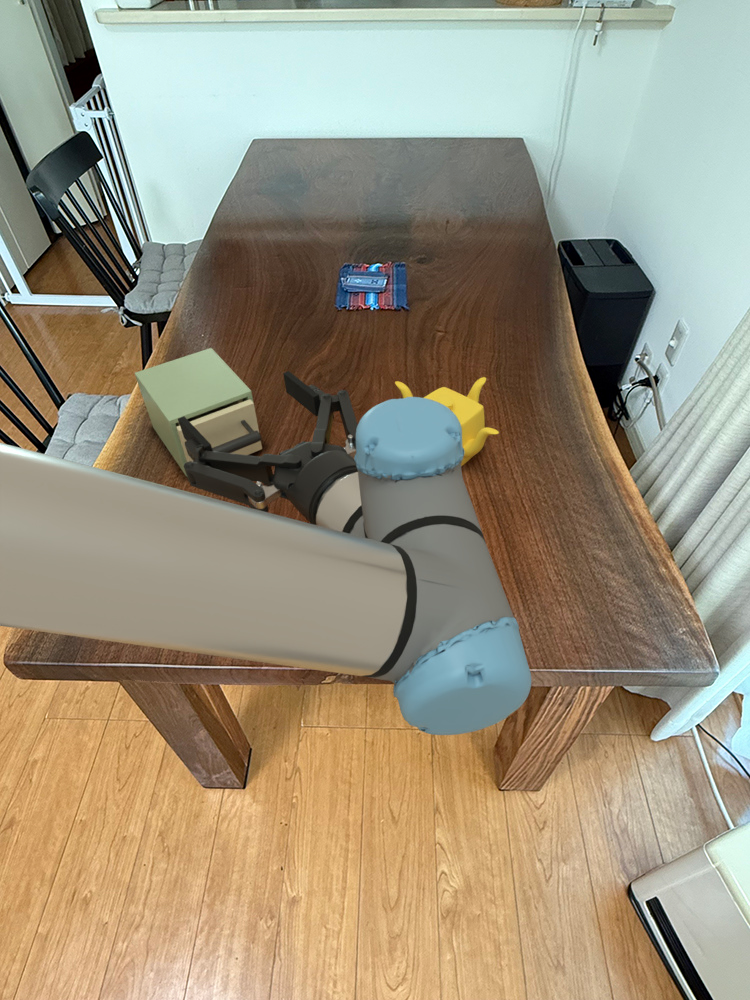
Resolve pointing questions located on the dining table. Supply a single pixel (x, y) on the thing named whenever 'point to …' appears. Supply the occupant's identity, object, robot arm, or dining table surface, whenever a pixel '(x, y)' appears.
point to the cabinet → (187, 393)
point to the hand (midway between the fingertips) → (237, 403)
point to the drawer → (227, 429)
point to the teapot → (462, 414)
